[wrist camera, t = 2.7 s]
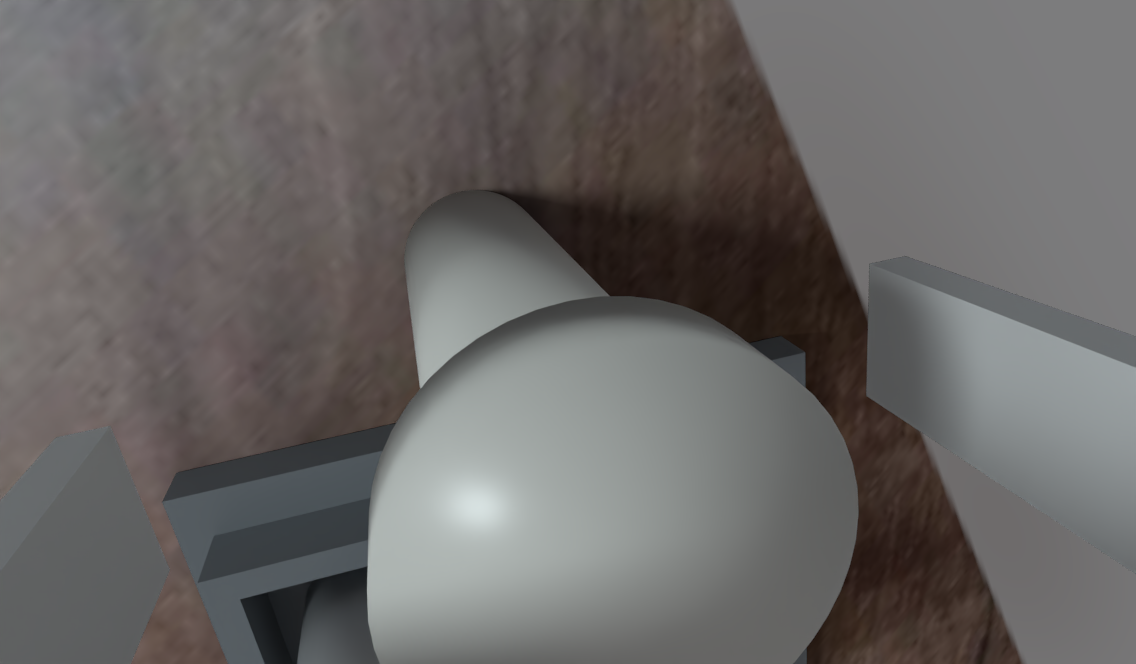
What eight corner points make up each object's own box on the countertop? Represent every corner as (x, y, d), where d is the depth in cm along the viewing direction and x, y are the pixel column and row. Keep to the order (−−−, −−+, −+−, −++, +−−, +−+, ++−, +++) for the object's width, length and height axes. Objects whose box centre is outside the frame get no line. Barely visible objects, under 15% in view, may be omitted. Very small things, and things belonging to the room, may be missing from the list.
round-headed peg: (352, 179, 19) (301, 411, 6) (557, 145, 20) (864, 287, 7) (398, 369, 21) (428, 828, 8) (581, 330, 22) (853, 689, 9)
